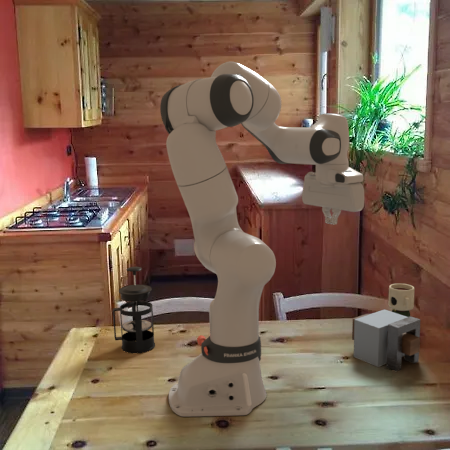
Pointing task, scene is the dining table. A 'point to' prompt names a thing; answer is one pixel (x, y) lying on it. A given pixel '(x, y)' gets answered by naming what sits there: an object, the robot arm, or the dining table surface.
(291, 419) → the dining table surface
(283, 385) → the dining table surface
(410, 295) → the character mug
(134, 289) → the french press
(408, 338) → the shaft
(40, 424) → the dining table surface
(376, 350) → the grey rectangular block
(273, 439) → the dining table surface
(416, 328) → the block
